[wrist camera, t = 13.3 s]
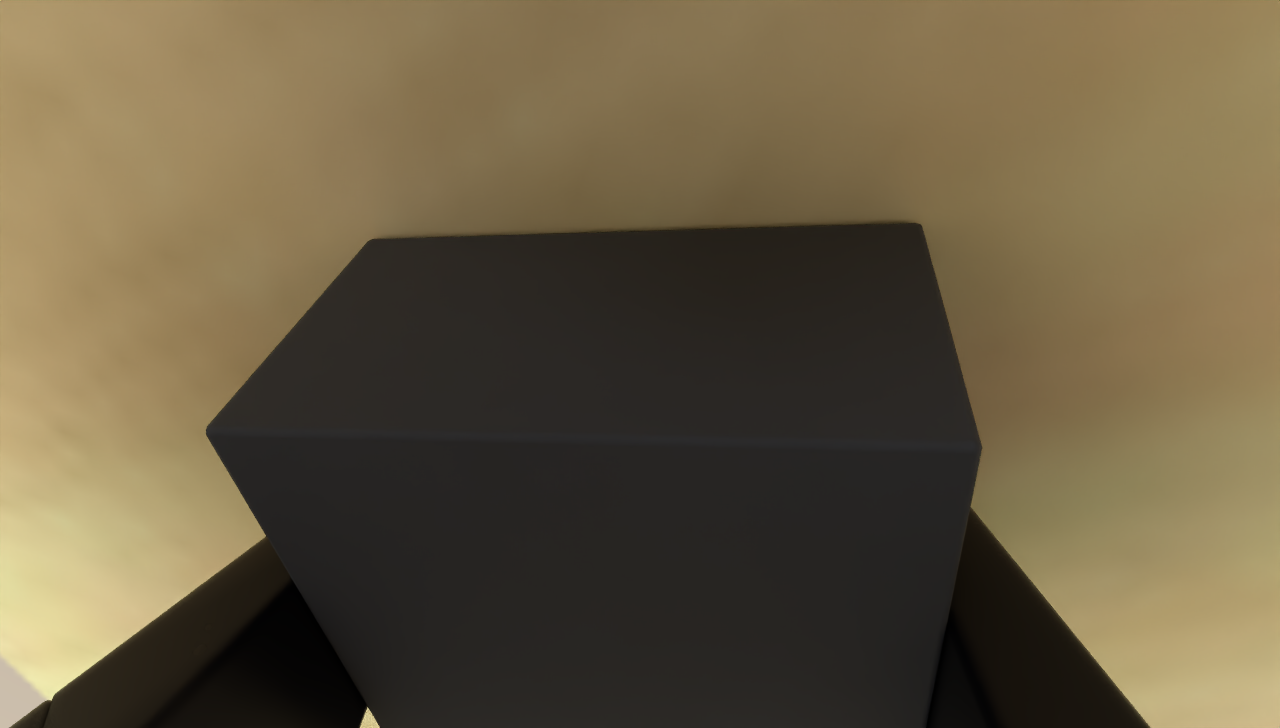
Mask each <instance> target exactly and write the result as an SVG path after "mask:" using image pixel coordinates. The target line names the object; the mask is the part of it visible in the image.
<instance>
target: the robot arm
mask: <svg viewBox="0 0 1280 728" xmlns="http://www.w3.org/2000/svg"><path fill="white" fill-rule="evenodd" d="M367 707H368V706H367V704H366V703H365V701H364V699H363V698H362V696H361V694H360V693H359V691H358V689H357V688H356V686H355V684H354V683H353V681H352V679H351V677H350V676H349V674H348V672H347V671H346V669H345V667H344V666H343V664H342V662H341V661H340V659H339V657H338V656H337V654H336V652H335V651H334V649H333V647H332V646H331V644H330V642H329V641H328V639H327V637H326V635H325V634H324V632H323V630H322V629H321V627H320V625H319V624H318V622H317V620H316V619H315V617H314V615H313V614H312V612H311V610H310V609H309V607H308V605H307V604H306V602H305V600H304V598H303V597H302V595H301V593H300V592H299V590H298V588H297V587H296V585H295V583H294V582H293V580H292V578H291V577H290V575H289V573H288V572H287V570H286V568H285V567H284V565H283V563H282V561H281V560H280V558H279V556H278V555H277V553H276V551H275V550H274V548H273V546H272V545H271V543H270V541H269V540H268V538H267V536H266V537H265V538H263V539H262V540H261V541H259V542H258V543H257V544H255V545H254V546H253V547H251V548H250V549H249V550H247V551H246V552H245V553H243V554H242V555H241V556H239V557H238V558H237V559H235V560H234V561H233V562H231V563H230V564H229V565H227V566H226V567H225V568H223V569H222V570H221V571H219V572H218V573H217V574H215V575H214V576H213V577H211V578H210V579H208V580H207V581H206V582H204V583H203V584H202V585H200V586H199V587H198V588H196V589H195V590H194V591H192V592H191V593H190V594H188V595H187V596H186V597H184V598H183V599H182V600H180V601H179V602H178V603H176V604H175V605H174V606H172V607H171V608H170V609H168V610H167V611H166V612H164V613H163V614H162V615H160V616H159V617H158V618H156V619H155V620H154V621H152V622H151V623H149V624H148V625H147V626H145V627H144V628H143V629H141V630H140V631H139V632H137V633H136V634H135V635H133V636H132V637H131V638H129V639H128V640H127V641H125V642H124V643H123V644H121V645H120V646H119V647H117V648H116V649H115V650H113V651H112V652H111V653H109V654H108V655H107V656H105V657H104V658H102V659H101V660H100V661H98V662H97V663H96V664H94V665H93V666H92V667H90V668H89V669H88V670H86V671H85V672H84V673H82V674H81V675H80V676H78V677H77V678H76V679H74V680H73V681H72V682H70V683H69V684H68V685H66V686H65V687H64V688H62V689H61V690H60V691H58V692H57V693H56V694H55V695H54V696H53V699H52V701H51V700H47V701H45V702H43V703H42V704H41V705H39V706H38V707H37V708H35V709H34V710H32V711H31V712H30V713H28V714H27V715H26V716H24V717H23V718H22V719H20V720H19V721H18V722H16V723H15V724H14V725H12V726H11V727H10V728H360V725H361V723H362V720H363V718H364V715H365V712H366V710H367ZM926 728H1150V726H1149V725H1148V724H1147V723H1146V721H1145V720H1144V719H1143V718H1142V717H1141V715H1140V714H1139V713H1138V712H1137V710H1136V709H1135V708H1134V707H1133V706H1132V704H1131V703H1130V702H1129V701H1128V699H1127V698H1126V697H1125V696H1124V694H1123V693H1122V692H1121V691H1120V690H1119V688H1118V687H1117V686H1116V685H1115V683H1114V682H1113V681H1112V680H1111V679H1110V677H1109V676H1108V675H1107V674H1106V672H1105V671H1104V670H1103V669H1102V668H1101V666H1100V665H1099V664H1098V663H1097V661H1096V660H1095V659H1094V658H1093V656H1092V655H1091V654H1090V653H1089V652H1088V650H1087V649H1086V648H1085V647H1084V645H1083V644H1082V643H1081V642H1080V641H1079V639H1078V638H1077V637H1076V636H1075V634H1074V633H1073V632H1072V631H1071V630H1070V628H1069V627H1068V626H1067V625H1066V623H1065V622H1064V621H1063V620H1062V618H1061V617H1060V616H1059V615H1058V614H1057V612H1056V611H1055V610H1054V609H1053V607H1052V606H1051V605H1050V604H1049V603H1048V601H1047V600H1046V599H1045V598H1044V596H1043V595H1042V594H1041V593H1040V592H1039V590H1038V589H1037V588H1036V587H1035V585H1034V584H1033V583H1032V582H1031V580H1030V579H1029V578H1028V577H1027V576H1026V574H1025V573H1024V572H1023V571H1022V569H1021V568H1020V567H1019V566H1018V565H1017V563H1016V562H1015V561H1014V560H1013V558H1012V557H1011V556H1010V555H1009V554H1008V552H1007V551H1006V550H1005V549H1004V547H1003V546H1002V545H1001V544H1000V542H999V541H998V540H997V539H996V538H995V536H994V535H993V534H992V533H991V531H990V530H989V529H988V528H987V527H986V525H985V524H984V523H983V522H982V520H981V519H980V518H979V517H978V516H977V514H976V513H975V512H974V511H973V509H972V508H971V507H970V511H969V516H968V521H967V526H966V531H965V536H964V541H963V546H962V551H961V556H960V561H959V566H958V571H957V576H956V581H955V586H954V591H953V596H952V601H951V606H950V611H949V616H948V621H947V626H946V630H945V635H944V640H943V645H942V650H941V655H940V660H939V665H938V670H937V675H936V680H935V685H934V690H933V695H932V700H931V705H930V710H929V715H928V720H927V725H926Z"/></svg>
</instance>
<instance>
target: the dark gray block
mask: <svg viewBox="0 0 1280 728" xmlns="http://www.w3.org/2000/svg"><path fill="white" fill-rule="evenodd" d="M206 435H207V437H208V439H209V440H210V442H211V444H212V445H213V447H214V449H215V450H216V452H217V454H218V456H219V457H220V459H221V461H222V462H223V464H224V466H225V467H226V469H227V471H228V472H229V474H230V476H231V477H232V479H233V481H234V482H235V484H236V486H237V487H238V489H239V491H240V493H241V494H242V496H243V498H244V499H245V501H246V503H247V504H248V506H249V508H250V509H251V511H252V513H253V514H254V516H255V518H256V519H257V521H258V523H259V524H260V526H261V528H262V530H263V531H264V533H265V535H266V536H267V538H268V540H269V541H270V543H271V545H272V546H273V548H274V550H275V551H276V553H277V555H278V556H279V558H280V560H281V561H282V563H283V565H284V567H285V568H286V570H287V572H288V573H289V575H290V577H291V578H292V580H293V582H294V583H295V585H296V587H297V588H298V590H299V592H300V593H301V595H302V597H303V598H304V600H305V602H306V604H307V605H308V607H309V609H310V610H311V612H312V614H313V615H314V617H315V619H316V620H317V622H318V624H319V625H320V627H321V629H322V630H323V632H324V634H325V635H326V637H327V639H328V641H329V642H330V644H331V646H332V647H333V649H334V651H335V652H336V654H337V656H338V657H339V659H340V661H341V662H342V664H343V666H344V667H345V669H346V671H347V672H348V674H349V676H350V677H351V679H352V681H353V683H354V684H355V686H356V688H357V689H358V691H359V693H360V694H361V696H362V698H363V699H364V701H365V703H366V704H367V706H368V708H369V709H370V711H371V713H372V714H373V716H374V718H375V720H376V721H377V723H378V725H379V726H380V728H926V725H927V720H928V715H929V710H930V705H931V700H932V695H933V690H934V685H935V680H936V675H937V670H938V665H939V660H940V655H941V650H942V645H943V640H944V635H945V630H946V626H947V621H948V616H949V611H950V606H951V601H952V596H953V591H954V586H955V581H956V576H957V571H958V566H959V561H960V556H961V551H962V546H963V541H964V536H965V531H966V526H967V521H968V516H969V511H970V506H971V501H972V496H973V491H974V486H975V481H976V476H977V471H978V466H979V461H980V456H981V451H982V445H981V441H980V437H979V434H978V430H977V426H976V423H975V419H974V415H973V412H972V408H971V404H970V401H969V397H968V393H967V390H966V386H965V382H964V379H963V375H962V371H961V368H960V364H959V360H958V356H957V353H956V349H955V345H954V342H953V338H952V334H951V331H950V327H949V323H948V320H947V316H946V312H945V309H944V305H943V301H942V298H941V294H940V290H939V287H938V283H937V279H936V275H935V272H934V268H933V264H932V261H931V257H930V253H929V250H928V246H927V242H926V239H925V235H924V231H923V228H922V226H921V225H920V224H917V223H900V224H866V225H832V226H798V227H765V228H731V229H697V230H663V231H630V232H596V233H562V234H528V235H494V236H461V237H427V238H393V239H372V240H370V241H368V242H367V243H366V244H365V245H364V247H363V248H362V249H361V250H360V251H359V252H358V254H357V255H356V256H355V257H354V258H353V259H352V260H351V262H350V263H349V264H348V265H347V266H346V267H345V268H344V270H343V271H342V272H341V273H340V274H339V275H338V277H337V278H336V279H335V280H334V281H333V282H332V283H331V285H330V286H329V287H328V288H327V289H326V290H325V292H324V293H323V294H322V295H321V296H320V297H319V298H318V300H317V301H316V302H315V303H314V304H313V305H312V306H311V308H310V309H309V310H308V311H307V312H306V313H305V315H304V316H303V317H302V318H301V319H300V320H299V321H298V323H297V324H296V325H295V326H294V327H293V328H292V329H291V331H290V332H289V333H288V334H287V335H286V336H285V338H284V339H283V340H282V341H281V342H280V343H279V344H278V346H277V347H276V348H275V349H274V350H273V351H272V352H271V354H270V355H269V356H268V357H267V358H266V359H265V361H264V362H263V363H262V364H261V365H260V366H259V367H258V369H257V370H256V371H255V372H254V373H253V374H252V375H251V377H250V378H249V379H248V380H247V381H246V382H245V384H244V385H243V386H242V387H241V388H240V389H239V390H238V392H237V393H236V394H235V395H234V396H233V397H232V398H231V400H230V401H229V402H228V403H227V404H226V405H225V407H224V408H223V409H222V410H221V411H220V412H219V413H218V415H217V416H216V417H215V418H214V419H213V420H212V421H211V423H210V424H209V425H208V426H207V429H206Z"/></svg>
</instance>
